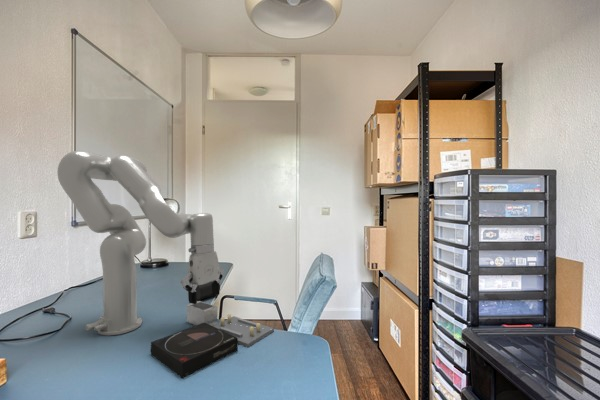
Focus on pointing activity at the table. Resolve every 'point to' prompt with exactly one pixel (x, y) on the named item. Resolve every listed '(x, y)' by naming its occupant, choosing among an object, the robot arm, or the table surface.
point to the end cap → (204, 291)
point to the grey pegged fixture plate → (244, 330)
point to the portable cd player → (193, 348)
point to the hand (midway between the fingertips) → (204, 298)
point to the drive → (201, 313)
